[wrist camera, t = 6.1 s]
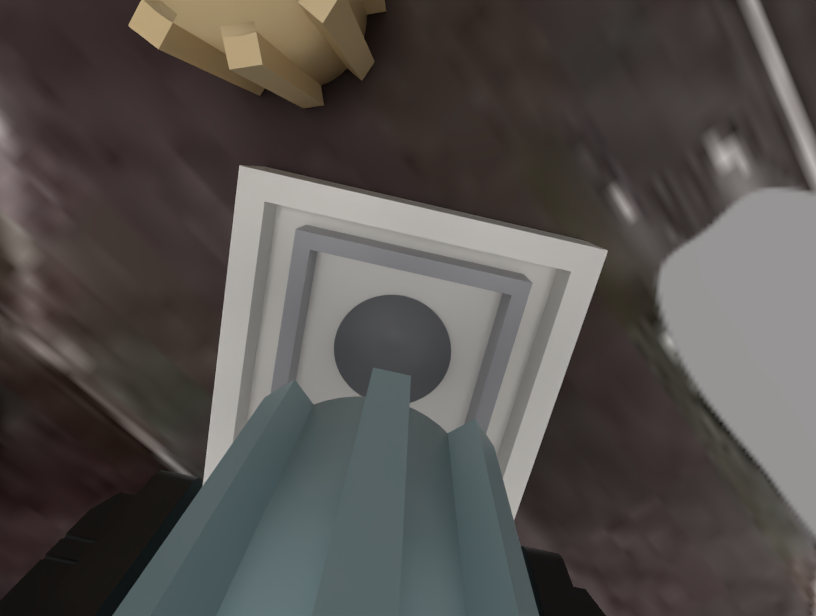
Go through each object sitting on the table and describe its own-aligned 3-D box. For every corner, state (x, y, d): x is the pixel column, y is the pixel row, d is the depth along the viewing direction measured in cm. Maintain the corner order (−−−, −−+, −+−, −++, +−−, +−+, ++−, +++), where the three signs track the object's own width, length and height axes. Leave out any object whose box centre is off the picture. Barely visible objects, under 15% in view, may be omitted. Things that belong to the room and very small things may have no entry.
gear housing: (263, 166, 18) (239, 165, 16) (584, 240, 19) (608, 250, 16) (212, 565, 24) (188, 609, 21) (459, 615, 24) (463, 664, 22)
